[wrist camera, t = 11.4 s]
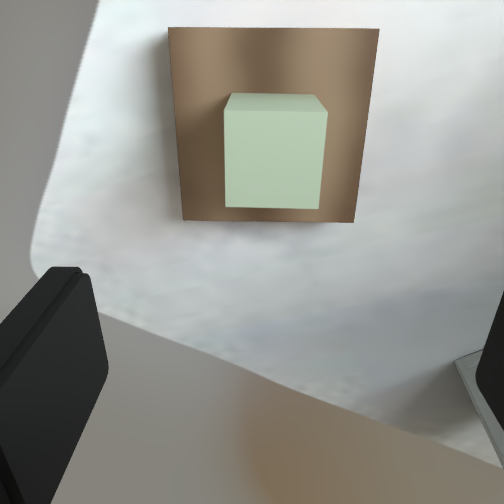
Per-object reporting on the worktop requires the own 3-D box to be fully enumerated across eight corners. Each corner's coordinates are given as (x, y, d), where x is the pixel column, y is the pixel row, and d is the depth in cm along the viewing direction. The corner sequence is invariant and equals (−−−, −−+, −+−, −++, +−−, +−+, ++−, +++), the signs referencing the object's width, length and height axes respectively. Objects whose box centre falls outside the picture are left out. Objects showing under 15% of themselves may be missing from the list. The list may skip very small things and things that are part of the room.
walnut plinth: (367, 28, 26) (379, 28, 24) (346, 206, 32) (353, 222, 29) (177, 27, 26) (167, 27, 24) (189, 204, 32) (183, 220, 30)
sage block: (314, 94, 25) (327, 112, 20) (307, 174, 28) (318, 209, 22) (231, 92, 25) (223, 110, 20) (232, 172, 28) (225, 206, 23)
